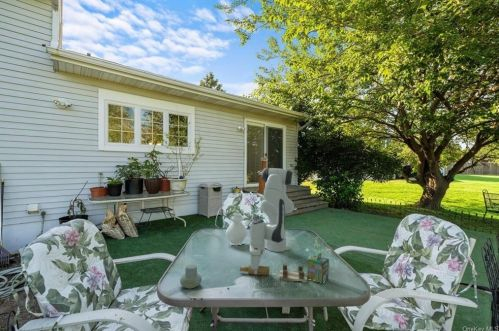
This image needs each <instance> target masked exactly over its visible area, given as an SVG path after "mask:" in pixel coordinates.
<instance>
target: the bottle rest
mask: <svg viewBox="0 0 499 331" xmlns="http://www.w3.org/2000/svg"><path fill="white" fill-rule="evenodd" d="M281 280H287V281H286V282H293V281H302V282H301V283H305V282H307V283H308V276H307V272H306V271H304V266H303V265H298V267H297V270H288V264H284V263H283V265H282V269H279V281H281Z"/></svg>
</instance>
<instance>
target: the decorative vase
mask: <svg viewBox="0 0 499 331" xmlns="http://www.w3.org/2000/svg"><path fill="white" fill-rule="evenodd" d="M242 215H243V214H242V212H233V213H232V216H231V221H232V223H231V224H229V226H228V227H227V229H226V231H225V236H226V237H227V239H228V240H229V243H230V244H231V245H241V244H242V242H243V243H244V240H246V238H247V236H248V233H249V232H248V228H247V227H246V226H245V224H243V222H242V221H243V220H244V217H243V216H242ZM231 245H230V246H231Z"/></svg>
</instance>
